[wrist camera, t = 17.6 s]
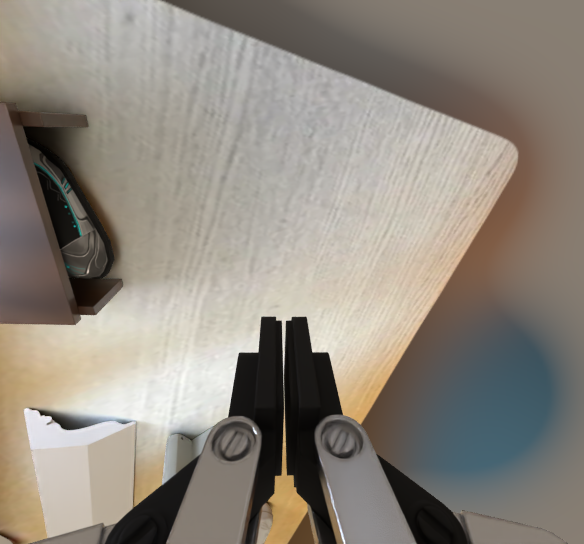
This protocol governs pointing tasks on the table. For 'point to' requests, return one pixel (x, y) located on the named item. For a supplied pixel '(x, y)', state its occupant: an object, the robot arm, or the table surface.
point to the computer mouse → (72, 218)
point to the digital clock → (181, 452)
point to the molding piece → (82, 472)
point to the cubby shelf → (36, 235)
